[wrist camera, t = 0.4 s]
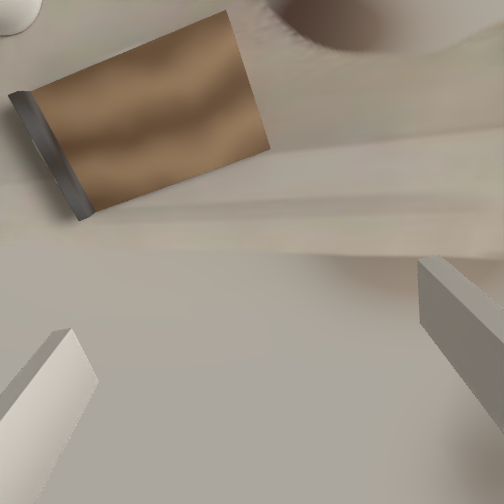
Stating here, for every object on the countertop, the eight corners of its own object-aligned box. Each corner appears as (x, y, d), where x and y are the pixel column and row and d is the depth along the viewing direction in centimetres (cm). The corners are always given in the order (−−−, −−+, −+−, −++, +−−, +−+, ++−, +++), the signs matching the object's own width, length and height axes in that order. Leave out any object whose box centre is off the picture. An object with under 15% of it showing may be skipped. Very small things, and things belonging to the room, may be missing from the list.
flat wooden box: (30, 96, 35) (4, 96, 31) (227, 15, 32) (224, 4, 28) (92, 210, 39) (76, 222, 35) (269, 146, 37) (271, 151, 33)
